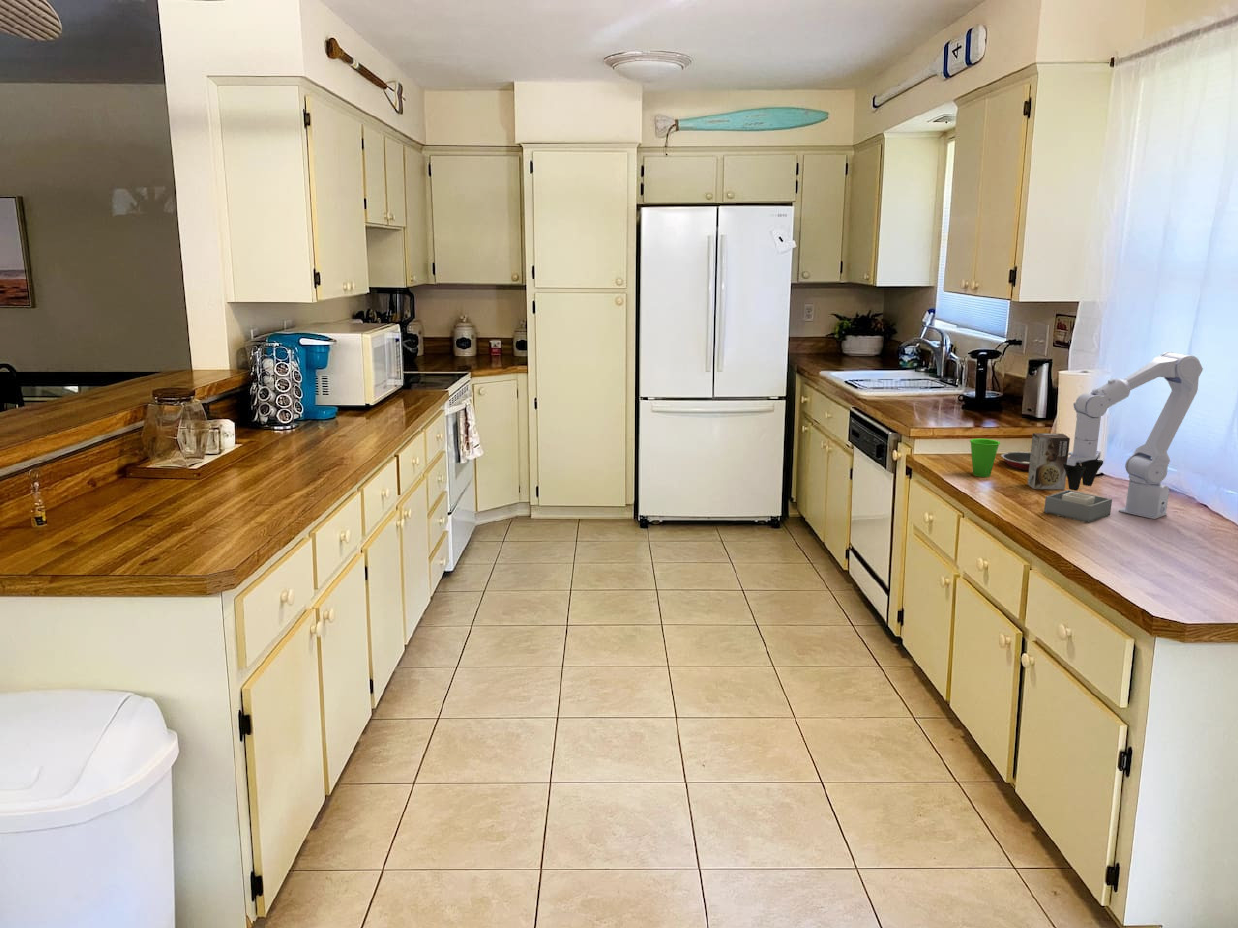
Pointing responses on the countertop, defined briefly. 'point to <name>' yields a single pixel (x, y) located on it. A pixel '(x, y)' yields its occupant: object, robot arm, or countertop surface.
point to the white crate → (1079, 498)
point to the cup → (983, 456)
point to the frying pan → (1017, 459)
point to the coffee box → (1048, 461)
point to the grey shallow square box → (1078, 507)
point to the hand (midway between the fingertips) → (1080, 487)
